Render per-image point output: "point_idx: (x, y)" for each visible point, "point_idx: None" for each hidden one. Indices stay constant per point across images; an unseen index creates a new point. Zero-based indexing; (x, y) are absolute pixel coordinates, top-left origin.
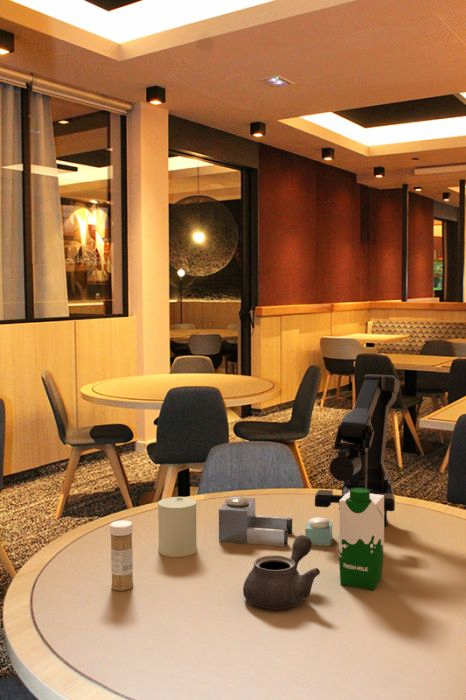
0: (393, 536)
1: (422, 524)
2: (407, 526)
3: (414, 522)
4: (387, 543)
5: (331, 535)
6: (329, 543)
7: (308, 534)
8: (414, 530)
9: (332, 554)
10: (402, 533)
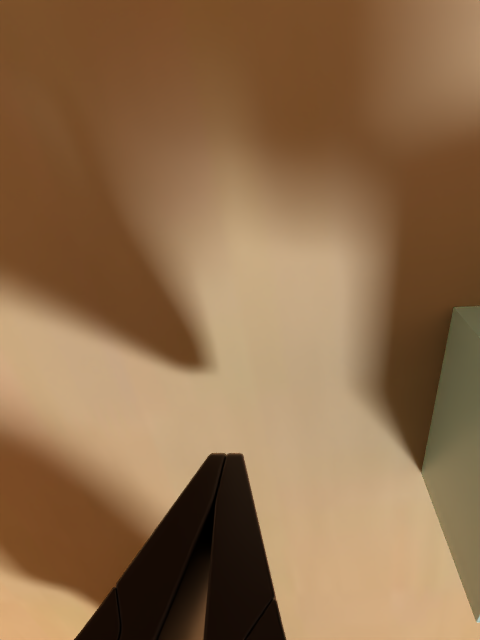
0: (51, 525)
1: (12, 621)
2: (53, 608)
3: (48, 632)
4: (29, 439)
5: (454, 453)
6: (475, 319)
7: None
8: (5, 581)
9: (450, 14)
10: (32, 555)
